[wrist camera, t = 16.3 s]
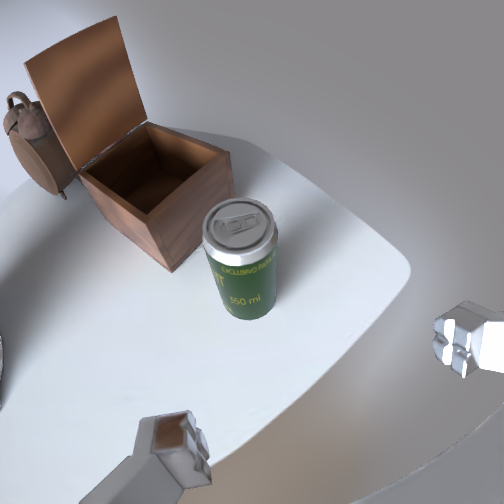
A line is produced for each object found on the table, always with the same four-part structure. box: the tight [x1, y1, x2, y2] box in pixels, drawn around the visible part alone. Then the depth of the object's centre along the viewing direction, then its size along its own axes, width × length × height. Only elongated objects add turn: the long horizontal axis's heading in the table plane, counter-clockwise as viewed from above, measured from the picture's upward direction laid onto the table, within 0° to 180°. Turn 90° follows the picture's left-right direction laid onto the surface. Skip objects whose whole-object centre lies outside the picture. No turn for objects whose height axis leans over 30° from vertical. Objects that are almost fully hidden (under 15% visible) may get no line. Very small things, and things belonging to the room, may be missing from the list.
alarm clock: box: [3, 91, 84, 199], centre depth 35 cm, size 15×7×20 cm, turn 62°
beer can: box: [202, 198, 278, 320], centre depth 25 cm, size 5×5×12 cm
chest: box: [78, 121, 236, 273], centre depth 34 cm, size 15×12×9 cm
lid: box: [24, 16, 147, 171], centre depth 27 cm, size 15×12×5 cm
